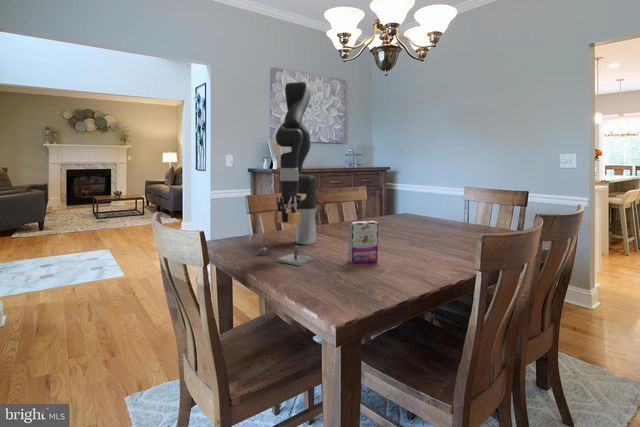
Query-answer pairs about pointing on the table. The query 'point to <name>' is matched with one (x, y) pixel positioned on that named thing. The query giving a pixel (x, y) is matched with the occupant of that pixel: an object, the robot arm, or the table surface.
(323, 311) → the table surface
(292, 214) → the orange link
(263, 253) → the grey knob block
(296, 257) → the plate
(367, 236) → the candy bar box
